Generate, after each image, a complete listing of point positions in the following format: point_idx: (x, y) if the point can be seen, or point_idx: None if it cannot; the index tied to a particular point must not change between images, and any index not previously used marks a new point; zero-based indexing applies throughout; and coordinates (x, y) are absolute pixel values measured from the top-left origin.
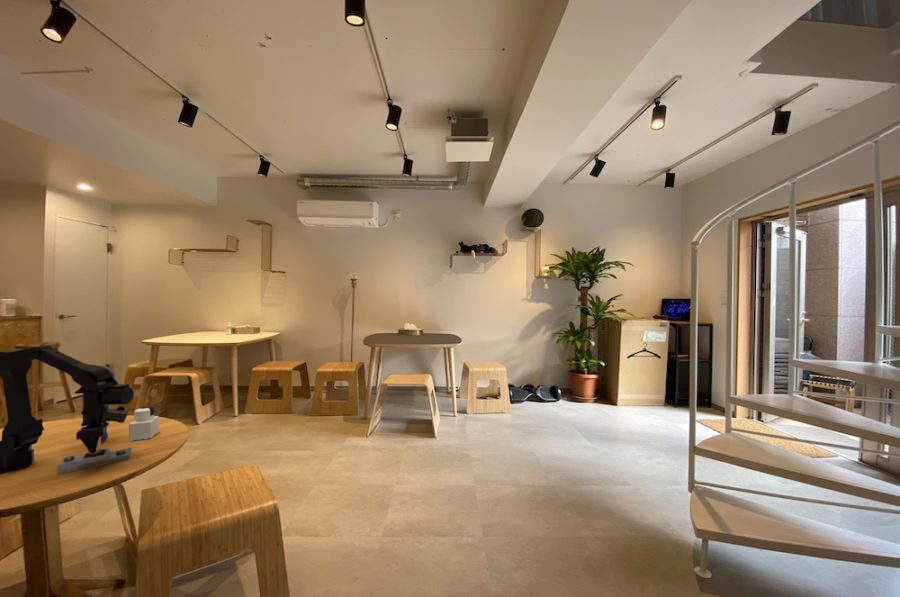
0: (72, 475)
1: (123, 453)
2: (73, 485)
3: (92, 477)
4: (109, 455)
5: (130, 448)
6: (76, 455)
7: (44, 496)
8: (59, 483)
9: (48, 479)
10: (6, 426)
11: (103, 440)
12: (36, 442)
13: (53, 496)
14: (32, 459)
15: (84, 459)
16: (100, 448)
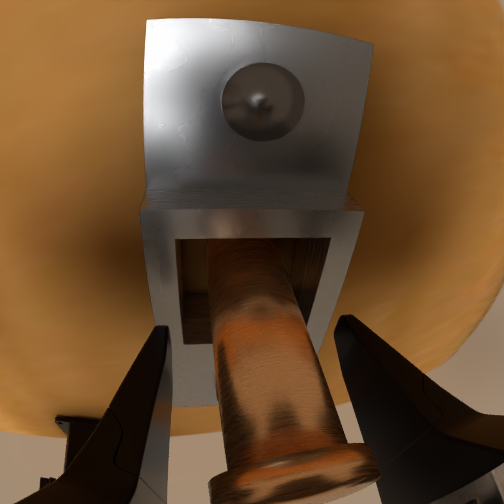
0: (361, 307)
1: (303, 80)
2: (468, 278)
3: (464, 231)
4: (257, 185)
5: (176, 23)
6: (188, 374)
7: (462, 324)
8: (405, 323)
9: (320, 364)
10: None
11: None
12: (51, 480)
13: (484, 304)
14: (88, 434)
15: (325, 328)
16: (270, 300)
